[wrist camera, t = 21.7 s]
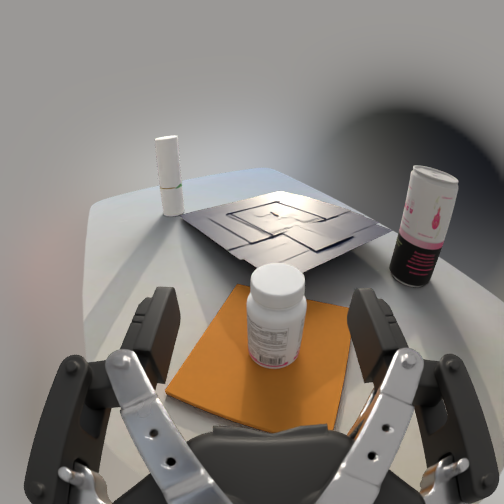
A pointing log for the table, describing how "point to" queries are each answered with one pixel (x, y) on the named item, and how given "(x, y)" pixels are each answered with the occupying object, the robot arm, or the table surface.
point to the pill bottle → (275, 314)
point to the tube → (169, 175)
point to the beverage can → (423, 225)
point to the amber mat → (267, 370)
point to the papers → (285, 229)
